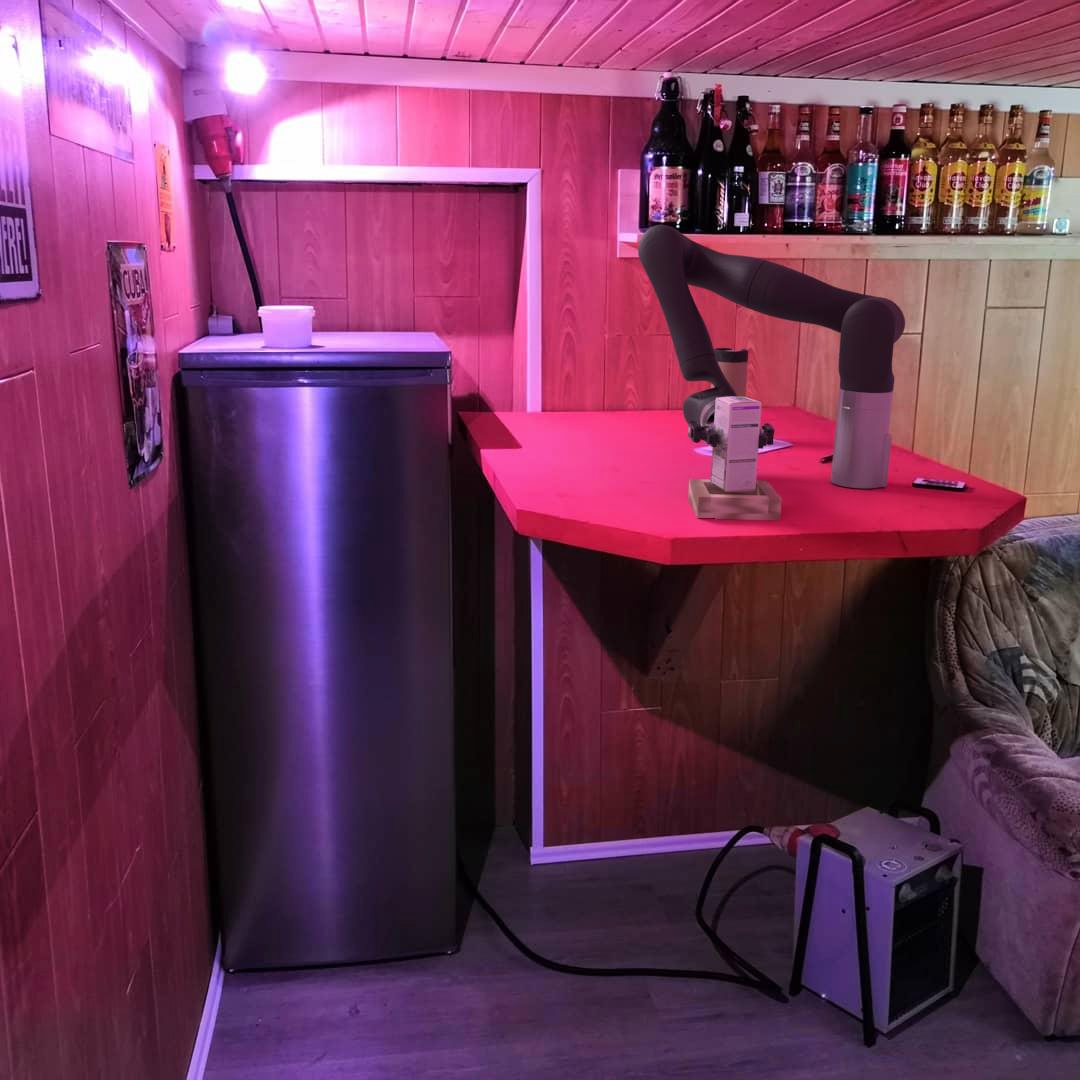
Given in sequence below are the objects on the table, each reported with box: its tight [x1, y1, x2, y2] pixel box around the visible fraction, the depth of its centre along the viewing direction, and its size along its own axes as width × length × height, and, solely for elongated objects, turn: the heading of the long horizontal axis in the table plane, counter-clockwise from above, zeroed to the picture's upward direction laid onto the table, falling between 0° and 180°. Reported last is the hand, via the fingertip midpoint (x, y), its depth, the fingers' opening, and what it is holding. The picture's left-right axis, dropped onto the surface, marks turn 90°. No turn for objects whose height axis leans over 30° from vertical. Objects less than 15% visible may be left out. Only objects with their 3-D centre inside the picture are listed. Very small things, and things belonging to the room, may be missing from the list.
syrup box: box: [710, 396, 763, 492], centre depth 169 cm, size 6×6×14 cm
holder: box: [687, 478, 783, 521], centre depth 172 cm, size 13×13×4 cm
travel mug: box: [710, 347, 749, 397], centre depth 231 cm, size 8×8×20 cm
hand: (738, 441), depth 167 cm, fingers closed on syrup box, 7 cm apart
